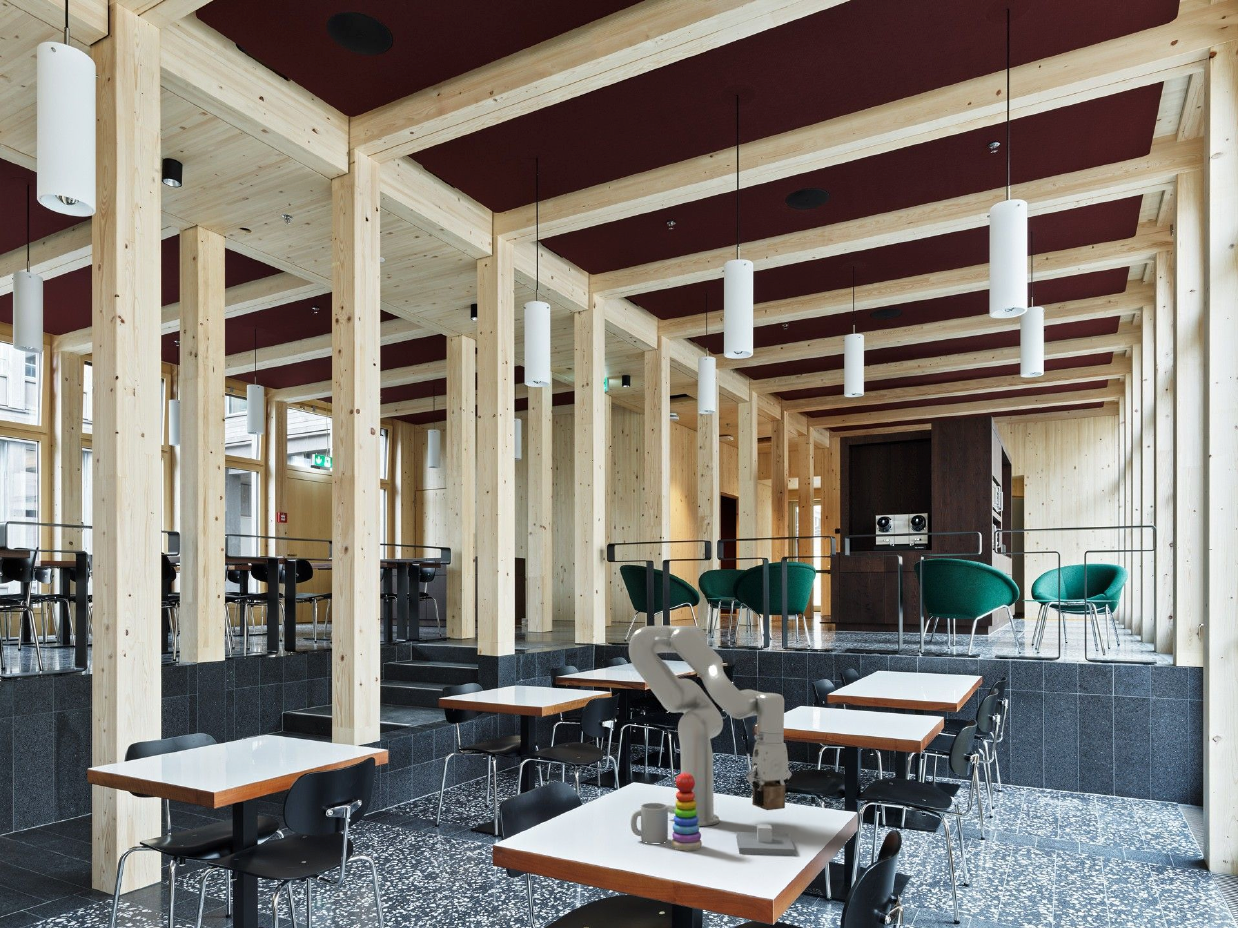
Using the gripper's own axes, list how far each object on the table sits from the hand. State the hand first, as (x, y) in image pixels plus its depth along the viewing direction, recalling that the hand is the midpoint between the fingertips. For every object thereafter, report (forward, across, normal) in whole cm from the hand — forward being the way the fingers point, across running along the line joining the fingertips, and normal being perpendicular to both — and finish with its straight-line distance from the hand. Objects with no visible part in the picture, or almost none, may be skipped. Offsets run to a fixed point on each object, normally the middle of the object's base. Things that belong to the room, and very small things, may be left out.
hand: (768, 802), depth 243 cm
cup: (+9, -34, +8) cm, 36 cm away
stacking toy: (+8, -29, -2) cm, 30 cm away
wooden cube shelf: (+1, 0, 0) cm, 1 cm away
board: (+7, -11, -12) cm, 17 cm away
